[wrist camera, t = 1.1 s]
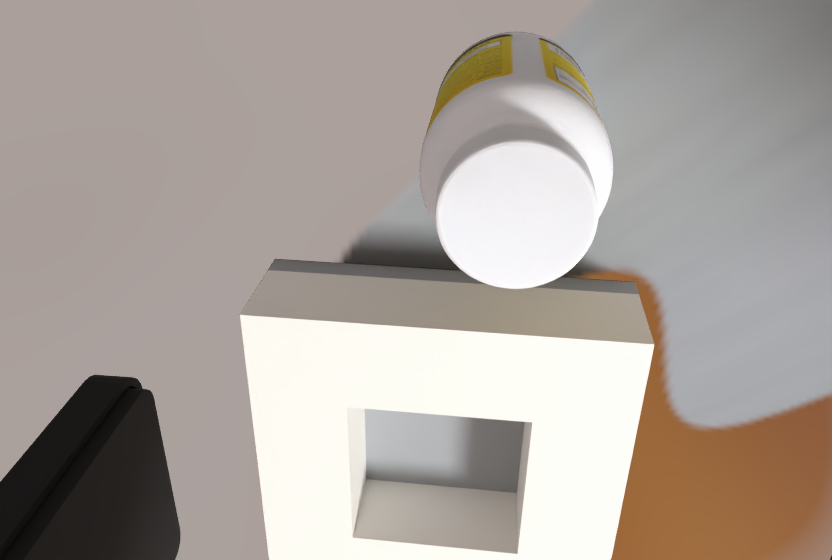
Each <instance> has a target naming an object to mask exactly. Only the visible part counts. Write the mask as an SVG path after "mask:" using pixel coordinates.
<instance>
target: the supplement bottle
mask: <svg viewBox="0 0 832 560" xmlns="http://www.w3.org/2000/svg"><path fill="white" fill-rule="evenodd" d="M419 172H420V187H421V193H422V197H423V200H424V203H425V206H426V208H427V210H428V212H429V214H430V216H431V218H432V220H433V221H434V223H435V225H436V231H437V234H438V237H439V240H440V242H441V245H442V247H443V249H444V251H445V252H446V254H447V255H448V256H449V258H450V259H451V260H452V261H453V262H454V264H455V265H456V266H457V267H458V268H459V269H461V270H462V271H463V272H465V273H466V274H468V275H469V276H471V277H472V278H474V279H476V280H478V281H480V282H483V283H485V284H488V285H492V286H495V287H501V288H509V289H522V288H531V287H535V286H539V285H543V284H545V283H548V282H550V281H553V280H555V279H557V278H559V277H560V276H562V275H564V274H565V273H567V272H568V271H569V270H570V269H572V268H573V267H574V266H575V265H576V264H577V263H578V262H579V261H580V260H581V258H582V257H583V256H584V255H585V253H586V252H587V250H588V248H589V247H590V245H591V243H592V241H593V238H594V236H595V233H596V229H597V224H598V218H599V216H600V215H601V213H602V211H603V209H604V207H605V205H606V202H607V200H608V197H609V194H610V190H611V185H612V177H613V157H612V151H611V146H610V142H609V138H608V135H607V132H606V129H605V126H604V124H603V121H602V119H601V117H600V114H599V111H598V109H597V106H596V104H595V101H594V99H593V96H592V94H591V91H590V88H589V86H588V83H587V81H586V79H585V76H584V74H583V72H582V71H581V69H580V67H579V66H578V64H577V63H576V62H575V60H574V59H573V58H572V57H571V56H570V54H569V53H567V52H566V51H565V50H564V49H563V48H562V47H561V46H559V45H558V44H556V43H554V42H553V41H551V40H549V39H547V38H544V37H542V36H539V35H536V34H531V33H526V32H507V33H501V34H497V35H493V36H490V37H487V38H485V39H483V40H480V41H479V42H477V43H475V44H474V45H472V46H470V47H469V48H468V49H466V50H465V51H464V52H463V53H462V54H461V55H460V56H459V57H458V58H457V59H456V60H455V62H454V63H453V64H452V66H451V67H450V69H449V70H448V72H447V73H446V76H445V77H444V80H443V82H442V84H441V87H440V89H439V92H438V96H437V100H436V104H435V107H434V110H433V113H432V116H431V120H430V123H429V126H428V130H427V133H426V136H425V139H424V143H423V147H422V152H421V158H420V169H419Z"/></svg>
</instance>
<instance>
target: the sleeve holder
mask: <svg viewBox="0 0 832 560" xmlns="http://www.w3.org/2000/svg"><path fill="white" fill-rule="evenodd" d="M240 321H241V329H242V337H243V346H244V353H245V362H246V370H247V379H248V387H249V395H250V403H251V411H252V420H253V428H254V437H255V445H256V453H257V462H258V470H259V478H260V487H261V495H262V503H263V511H264V520H265V528H266V536H267V544H268V552H269V560H611V557H612V552H613V547H614V542H615V537H616V532H617V527H618V522H619V517H620V512H621V507H622V502H623V497H624V492H625V487H626V482H627V477H628V472H629V467H630V462H631V457H632V453H633V447H634V443H635V438H636V433H637V428H638V423H639V418H640V413H641V408H642V403H643V398H644V393H645V388H646V383H647V378H648V373H649V368H650V363H651V359H652V354H653V348H654V342H653V339H652V336H651V333H650V329H649V326H648V323H647V320H646V316H645V313H644V310H643V307H642V304H641V300H640V297H639V294H638V291H637V288H636V284H635V282H628V281H613V280H597V279H582V278H566V277H559V278H557V279H555V280H553V281H550V282H548V283H545V284H543V285H539V286H535V287H531V288H522V289H509V288H501V287H495V286H492V285H488V284H485V283H483V282H480V281H478V280H476V279H474V278H472V277H471V276H469V275H468V274H466V273H465V272H463V271H457V270H441V269H425V268H410V267H394V266H378V265H363V264H347V263H331V262H315V261H300V260H299V261H298V260H284V259H275V260H274V261H273V263H272V264H271V266H270V268H269V269H268V271H267V273H266V274H265V276H264V277H263V279H262V280H261V282H260V284H259V285H258V287H257V289H256V290H255V292H254V293H253V295H252V296H251V298H250V299H249V301H248V303H247V304H246V306H245V307H244V309H243V311H242V312H241V314H240Z"/></svg>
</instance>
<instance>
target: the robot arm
mask: <svg viewBox="0 0 832 560" xmlns="http://www.w3.org/2000/svg"><path fill="white" fill-rule="evenodd" d="M179 544H180V527H179V522H178V517H177V512H176V507H175V502H174V497H173V492H172V487H171V482H170V477H169V472H168V467H167V461H166V456H165V452H164V447H163V441H162V437H161V431H160V426H159V422H158V416H157V411H156V406H155V401H154V397H153V394H152V392H151V391H150V390H147V389H142V386H141V383H140V382H139V381H138V379H136V378H132V377H118V376H104V375H93V376H90V377H89V378H88V379H87V380H85V381H84V383H83V384H82V385H81V386H80V387H79V389H78V390H77V391H76V392H75V393H74V395H73V396H72V397H71V398H70V399H69V401H68V402H67V403H66V404H65V406H64V407H63V408H62V409H61V410H60V411H59V413H58V414H57V415H56V416H55V417H54V419H53V420H52V421H51V422H50V423H49V424H48V426H47V427H46V428H45V429H44V430H43V432H42V433H41V434H40V436H39V437H38V438H37V439H36V440H35V441H34V443H33V444H32V445H31V446H30V447H29V449H28V450H27V451H26V452H25V453H24V454H23V456H22V457H21V458H20V459H19V461H18V462H17V463H16V464H15V465H14V466H13V468H12V469H11V470H10V471H9V472H8V474H7V475H6V476H5V477H4V478H3V479H2V481H1V482H0V560H175V558H176V556H177V553H178V549H179ZM830 560H832V556H831V559H830Z"/></svg>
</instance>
